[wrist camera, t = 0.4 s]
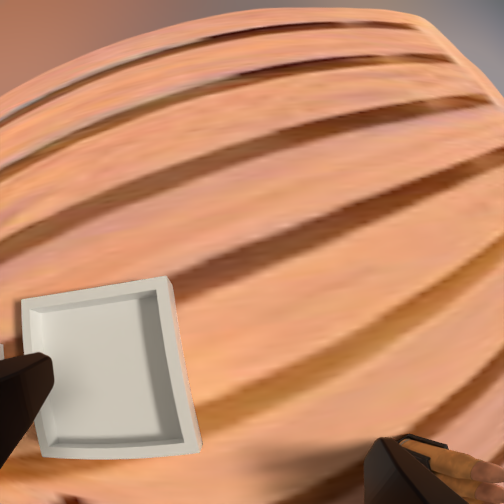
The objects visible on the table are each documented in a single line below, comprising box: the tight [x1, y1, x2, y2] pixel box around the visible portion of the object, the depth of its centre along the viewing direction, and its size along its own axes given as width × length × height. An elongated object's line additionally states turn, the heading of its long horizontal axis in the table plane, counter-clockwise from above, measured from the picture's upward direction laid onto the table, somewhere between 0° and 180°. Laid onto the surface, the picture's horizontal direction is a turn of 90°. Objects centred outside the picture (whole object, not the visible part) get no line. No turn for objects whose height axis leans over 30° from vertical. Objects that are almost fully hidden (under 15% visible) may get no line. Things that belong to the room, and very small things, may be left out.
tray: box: [21, 276, 203, 459], centre depth 19 cm, size 12×12×2 cm
